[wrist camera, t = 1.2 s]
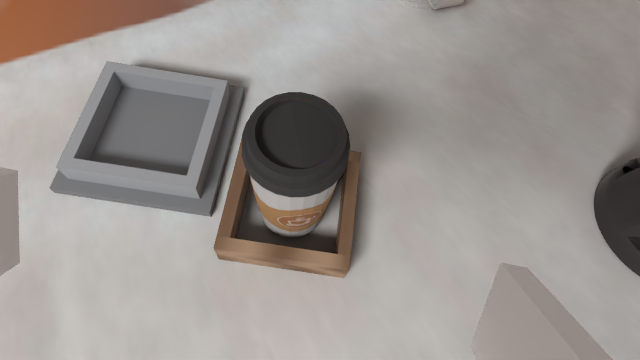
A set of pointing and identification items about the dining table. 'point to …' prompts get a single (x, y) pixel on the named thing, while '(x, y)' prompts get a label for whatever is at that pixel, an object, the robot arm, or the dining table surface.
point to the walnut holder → (283, 255)
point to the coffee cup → (294, 159)
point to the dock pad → (151, 139)
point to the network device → (432, 3)
